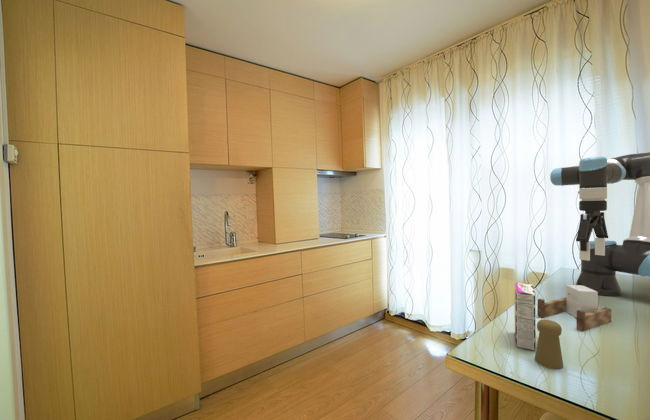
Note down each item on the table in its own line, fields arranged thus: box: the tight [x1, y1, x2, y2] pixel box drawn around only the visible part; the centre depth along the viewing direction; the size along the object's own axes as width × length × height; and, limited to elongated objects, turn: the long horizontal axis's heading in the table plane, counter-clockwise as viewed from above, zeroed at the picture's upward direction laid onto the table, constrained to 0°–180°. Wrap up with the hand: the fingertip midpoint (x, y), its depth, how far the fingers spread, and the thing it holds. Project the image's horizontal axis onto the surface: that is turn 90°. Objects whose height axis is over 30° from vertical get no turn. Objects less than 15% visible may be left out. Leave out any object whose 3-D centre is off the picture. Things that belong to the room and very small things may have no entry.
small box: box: [565, 284, 599, 319], centre depth 106 cm, size 8×6×10 cm
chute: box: [536, 296, 612, 332], centre depth 104 cm, size 18×14×6 cm
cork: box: [534, 319, 564, 370], centre depth 77 cm, size 6×6×11 cm
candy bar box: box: [514, 282, 537, 352], centre depth 88 cm, size 11×5×16 cm, turn 148°
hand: (592, 257), depth 108 cm, fingers open, 13 cm apart
